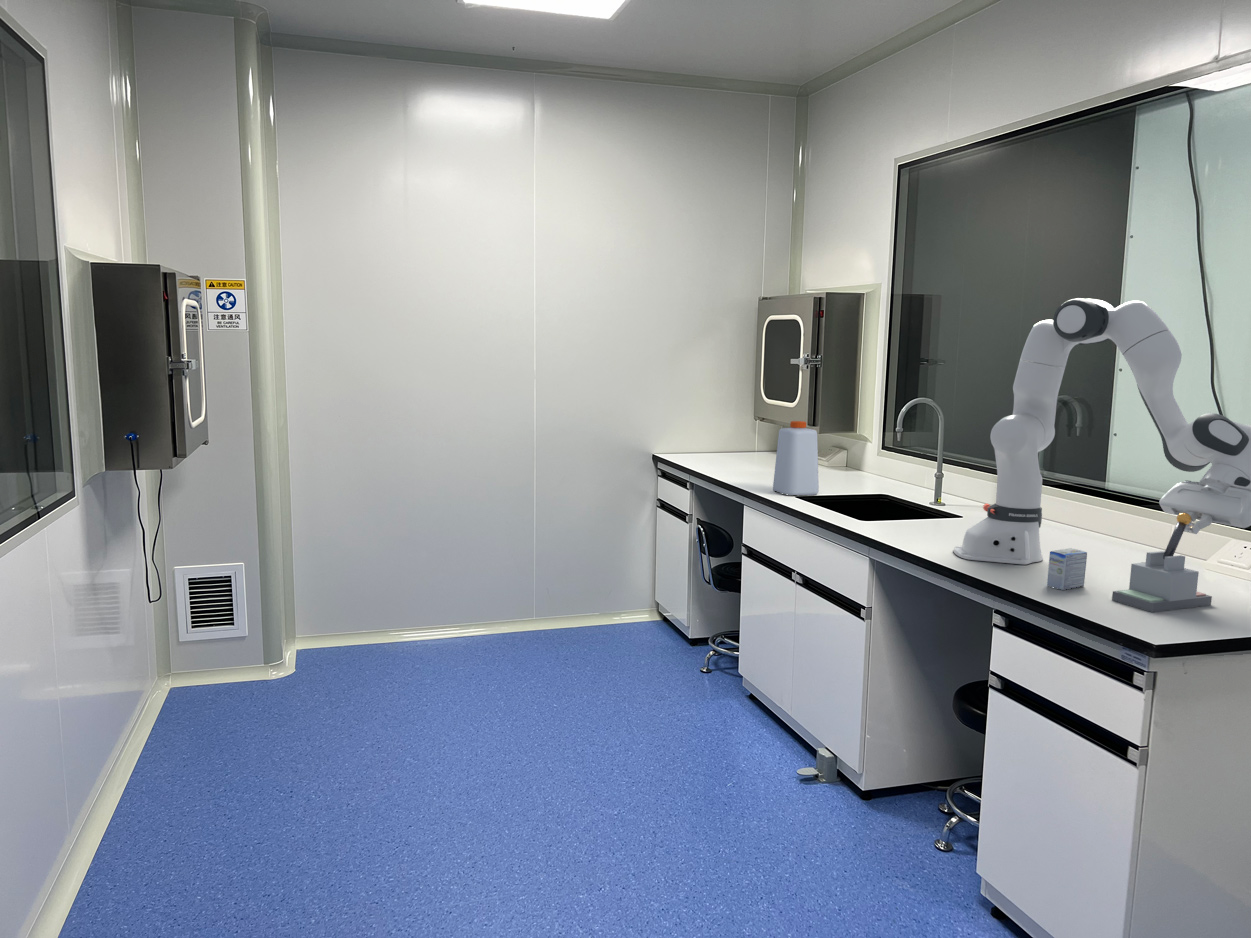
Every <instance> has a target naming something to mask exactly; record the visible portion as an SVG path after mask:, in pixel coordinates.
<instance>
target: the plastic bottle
mask: <svg viewBox="0 0 1251 938" xmlns="http://www.w3.org/2000/svg"><path fill="white" fill-rule="evenodd" d="M789 423H790V426H789V427H782V428H780V429H779V431H778V438H777V447H776V458H775V466H774V474H773V475H774V476H773V481H772V483H773V484H772V490H773V492H775V491H777V492H780V493H783V494H788V495H809V496H817V494H819V491H820V490H819V488H820V486H819V456H818V455H819V452H818V444H819V443H818V432H817V431H818V430H816V429H813V428H807V422H806V421H804V420H802V421H801V420H792V421H790V422H789ZM777 492H776V493H777ZM780 493H779V494H780ZM783 494H782V495H783Z"/></svg>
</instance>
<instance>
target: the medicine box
mask: <svg viewBox="0 0 1251 938" xmlns="http://www.w3.org/2000/svg"><path fill="white" fill-rule="evenodd" d="M1048 558H1049V559H1048V571H1047V582H1046V585H1047V587H1048V586H1050V587H1049V588H1052V587H1054V588H1053V589H1055V588H1058V589H1057V590H1059V589H1061V590H1060V591H1065V590H1066V589H1067V590H1072V589H1076V587H1077V588H1081V587H1080V586H1083V587H1085V580H1086V570H1087V569H1086V568H1087V559H1088V552H1087V551H1084V550H1081V549H1076V548H1072V547H1069V548H1063V549H1062V548H1061V549H1057V550H1051V551H1049V556H1048ZM1071 588H1072V589H1071Z"/></svg>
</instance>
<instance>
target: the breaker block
mask: <svg viewBox="0 0 1251 938" xmlns="http://www.w3.org/2000/svg"><path fill="white" fill-rule="evenodd" d="M1164 552H1165V550H1159V551H1150V552H1146V557H1145V562H1137V563H1134V562H1133V563H1131V565H1130V574H1129V575H1130V577H1129V586H1128V589H1122V590H1113V591H1112V597H1111V600H1112V601H1114V600H1115V601H1114V602H1117V601H1118V602H1117V603H1120V602H1121V603H1120V604H1123V605H1124V604H1125V605H1127V604H1128V605H1127V606H1130V605H1131V607H1133V606H1134V608H1136V607H1138V609H1140V608H1141V609H1140V610H1143V609H1144V611H1146V610H1147V611H1146V612H1149V611H1150V613H1157V612H1158V613H1159V612H1168V611H1173V610H1174V611H1175V610H1183V609H1190V608H1191V607H1192V608H1198V607H1199V606H1200V607H1206V606H1207V605H1208V606H1212V600H1213V599H1212V598H1213V597H1212V595H1209V594H1207V593H1204V592H1200V591H1198V584H1199V583H1198V582H1199V574H1200V573H1199V571H1198V570H1194V569H1190V568H1185V563H1186V556H1185V555H1182V554H1181V555H1173V556H1169V557H1165V560H1164V559H1163V555H1164ZM1192 608H1191V609H1192Z"/></svg>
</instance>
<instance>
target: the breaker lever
mask: <svg viewBox="0 0 1251 938" xmlns="http://www.w3.org/2000/svg"><path fill="white" fill-rule="evenodd" d="M1176 522H1177V523H1176V525H1175V527H1174V529H1173V530H1172V531H1173V532H1172V534H1171V536H1170V538H1169V541H1168V543H1167V546H1166V548H1165V550H1164V551H1165V552H1164V555H1163V559H1164V560H1165V557H1169V556H1175V553H1176V550H1177V548H1178V546H1179V544H1180V541H1181V539H1182V537H1183V534H1184V533H1185V532H1184V530H1185V527H1186V525H1188V524H1189V523H1190V522H1191V516H1190V515H1189V514H1188V513H1180V514H1179V515H1176Z"/></svg>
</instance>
